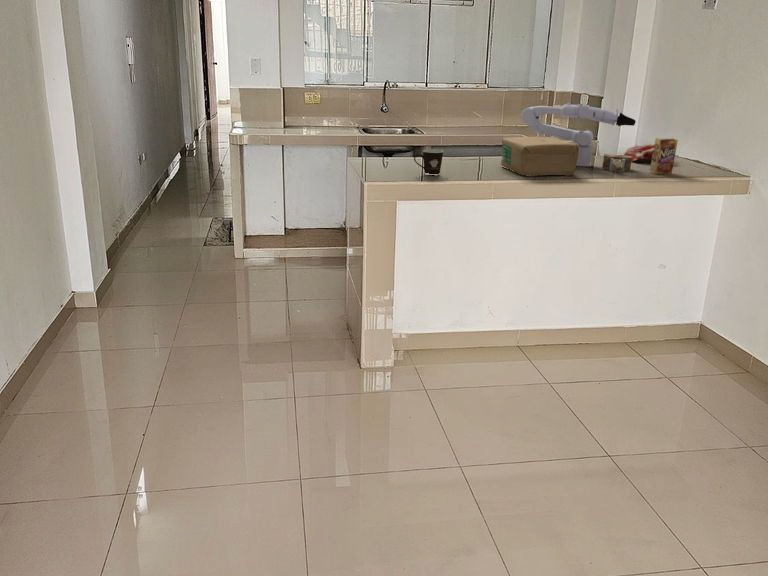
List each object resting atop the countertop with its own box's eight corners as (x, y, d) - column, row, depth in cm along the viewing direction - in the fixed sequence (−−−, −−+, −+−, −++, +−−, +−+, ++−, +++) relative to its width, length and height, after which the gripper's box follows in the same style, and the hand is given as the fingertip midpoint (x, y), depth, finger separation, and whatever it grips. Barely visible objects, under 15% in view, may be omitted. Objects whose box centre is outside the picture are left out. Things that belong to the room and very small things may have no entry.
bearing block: (602, 169, 307) (604, 156, 305) (602, 167, 312) (604, 154, 310) (630, 171, 304) (632, 157, 302) (629, 168, 309) (631, 155, 307)
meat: (625, 164, 323) (628, 143, 320) (621, 157, 343) (624, 137, 339) (671, 166, 319) (675, 145, 315) (665, 159, 338) (668, 139, 335)
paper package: (497, 166, 310) (499, 135, 305) (549, 165, 315) (552, 135, 310) (520, 178, 285) (523, 144, 280) (576, 176, 290) (580, 144, 285)
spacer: (609, 170, 304) (610, 158, 302) (609, 170, 306) (610, 158, 304) (623, 171, 302) (625, 159, 301) (623, 171, 304) (625, 159, 302)
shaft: (611, 172, 298) (612, 161, 296) (610, 168, 307) (612, 157, 305) (622, 172, 296) (624, 161, 295) (621, 168, 305) (623, 158, 304)
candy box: (654, 174, 298) (660, 139, 292) (649, 172, 301) (654, 138, 296) (672, 173, 299) (678, 139, 294) (666, 172, 303) (672, 137, 298)
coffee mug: (444, 173, 289) (445, 150, 286) (439, 177, 282) (440, 153, 278) (418, 171, 293) (419, 148, 289) (412, 175, 285) (413, 151, 282)
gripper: (605, 105, 298) (636, 112, 294) (608, 108, 311) (638, 114, 307) (600, 121, 300) (631, 128, 296) (603, 123, 313) (633, 130, 309)
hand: (634, 122), depth 301 cm, fingers open, 7 cm apart
